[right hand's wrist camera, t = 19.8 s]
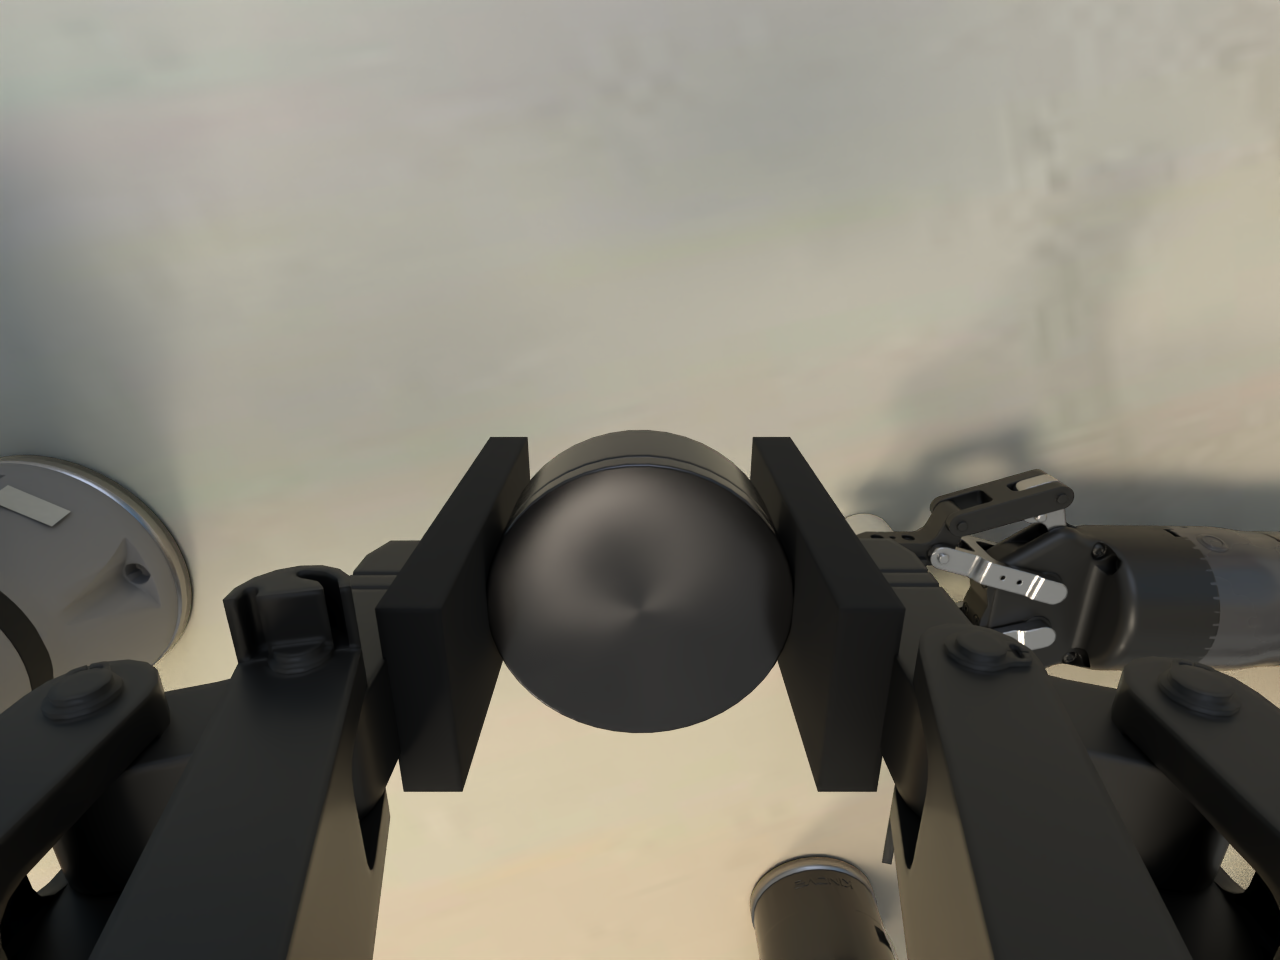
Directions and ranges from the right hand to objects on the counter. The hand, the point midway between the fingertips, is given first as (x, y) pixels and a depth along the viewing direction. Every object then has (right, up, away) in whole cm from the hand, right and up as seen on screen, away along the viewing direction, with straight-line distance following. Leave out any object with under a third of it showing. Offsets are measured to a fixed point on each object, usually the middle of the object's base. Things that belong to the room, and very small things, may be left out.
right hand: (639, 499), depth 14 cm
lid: (0, -1, -4) cm, 4 cm away
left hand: (+11, -6, +22) cm, 25 cm away
